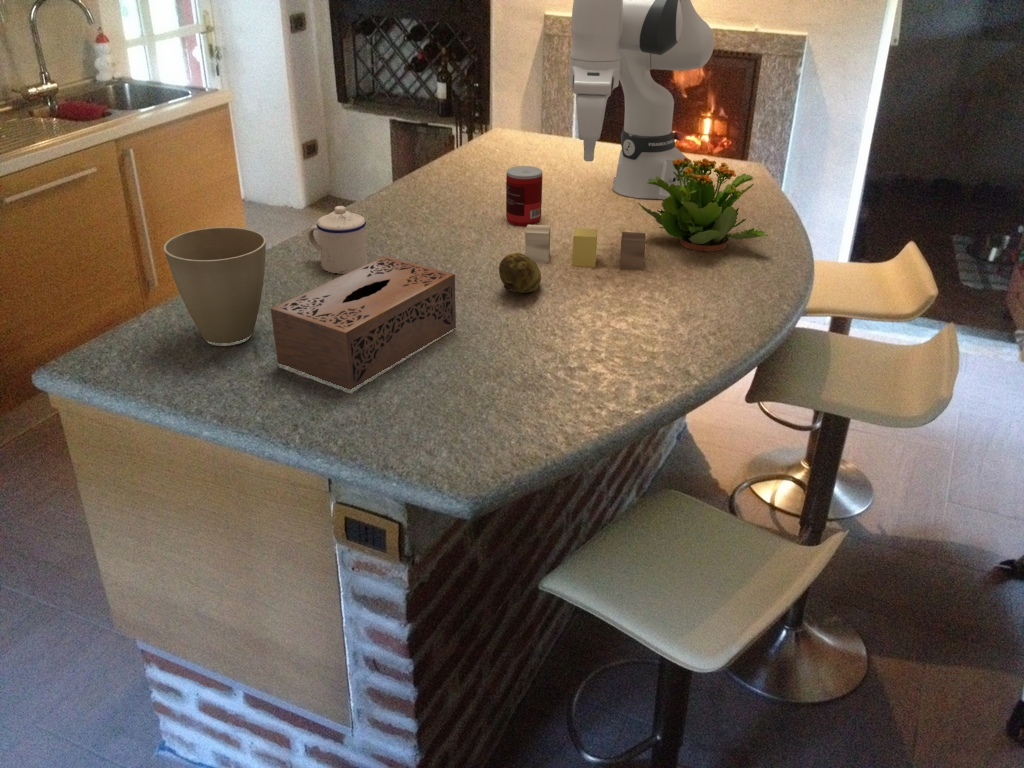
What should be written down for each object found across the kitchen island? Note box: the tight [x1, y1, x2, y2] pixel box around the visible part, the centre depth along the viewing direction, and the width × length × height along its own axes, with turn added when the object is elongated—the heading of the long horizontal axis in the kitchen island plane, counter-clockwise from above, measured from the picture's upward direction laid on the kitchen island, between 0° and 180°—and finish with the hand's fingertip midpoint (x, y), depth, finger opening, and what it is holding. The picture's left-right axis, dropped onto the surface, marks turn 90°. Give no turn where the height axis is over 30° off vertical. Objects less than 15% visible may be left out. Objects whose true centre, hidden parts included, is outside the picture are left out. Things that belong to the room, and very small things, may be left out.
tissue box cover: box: [270, 255, 457, 390], centre depth 139 cm, size 26×14×10 cm, turn 147°
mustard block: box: [571, 227, 599, 268], centre depth 173 cm, size 4×4×6 cm
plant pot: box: [163, 226, 267, 343], centre depth 140 cm, size 15×15×16 cm
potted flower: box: [637, 156, 769, 253], centre depth 179 cm, size 25×24×18 cm
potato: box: [498, 252, 542, 294], centre depth 159 cm, size 8×13×8 cm, turn 151°
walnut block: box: [619, 231, 647, 272], centre depth 171 cm, size 4×4×6 cm
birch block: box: [524, 224, 552, 264], centre depth 174 cm, size 4×4×6 cm
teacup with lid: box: [307, 205, 368, 275], centre depth 168 cm, size 12×9×12 cm
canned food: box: [505, 165, 543, 227], centre depth 193 cm, size 8×8×11 cm
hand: (589, 153), depth 164 cm, fingers open, 8 cm apart
